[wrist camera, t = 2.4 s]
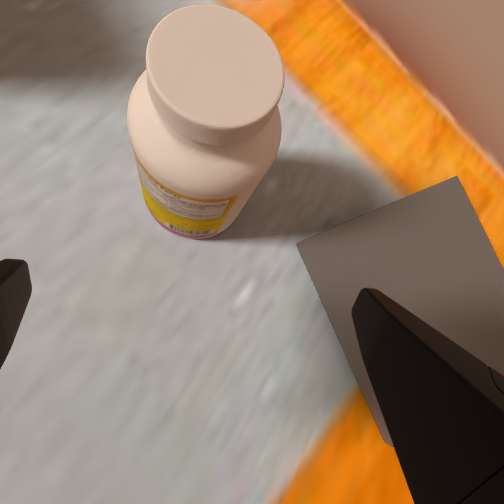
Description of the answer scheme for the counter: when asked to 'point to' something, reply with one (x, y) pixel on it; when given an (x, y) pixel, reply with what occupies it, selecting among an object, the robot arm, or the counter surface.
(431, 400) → the robot arm
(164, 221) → the supplement bottle
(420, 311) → the charcoal mat
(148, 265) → the counter surface
